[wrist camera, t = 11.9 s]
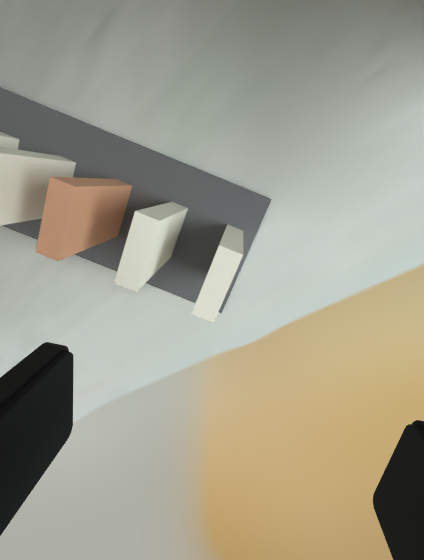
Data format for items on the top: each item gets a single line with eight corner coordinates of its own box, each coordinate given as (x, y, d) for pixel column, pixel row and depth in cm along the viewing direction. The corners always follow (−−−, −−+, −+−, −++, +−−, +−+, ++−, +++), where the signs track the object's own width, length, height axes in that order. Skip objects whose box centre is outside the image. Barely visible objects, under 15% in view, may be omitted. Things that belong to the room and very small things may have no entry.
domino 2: (188, 208, 28) (159, 221, 19) (170, 257, 30) (136, 292, 20) (171, 201, 28) (135, 211, 18) (155, 251, 30) (113, 283, 20)
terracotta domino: (132, 185, 28) (74, 186, 18) (118, 235, 29) (58, 260, 20) (116, 179, 28) (50, 176, 18) (102, 229, 29) (35, 251, 20)
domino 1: (76, 162, 28) (-11, 151, 18) (64, 214, 29) (-21, 229, 20) (59, 155, 28) (-37, 141, 18) (49, 208, 29) (-44, 220, 20)
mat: (271, 199, 27) (271, 199, 27) (221, 311, 31) (221, 313, 31) (-44, 69, 27) (-49, 67, 26) (-56, 200, 31) (-59, 200, 30)
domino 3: (243, 230, 28) (243, 254, 19) (223, 278, 30) (213, 322, 20) (227, 224, 28) (219, 244, 19) (207, 272, 30) (191, 313, 20)
